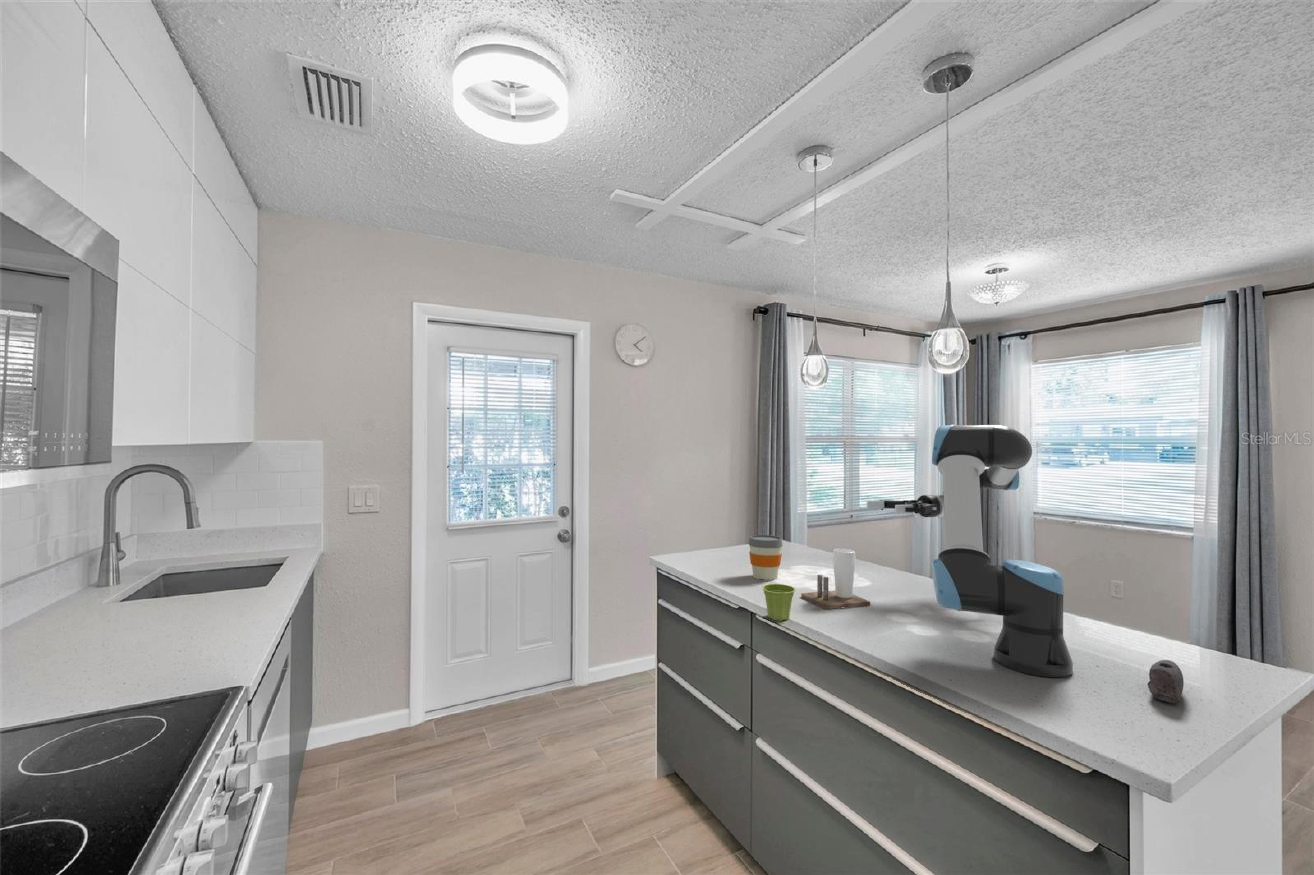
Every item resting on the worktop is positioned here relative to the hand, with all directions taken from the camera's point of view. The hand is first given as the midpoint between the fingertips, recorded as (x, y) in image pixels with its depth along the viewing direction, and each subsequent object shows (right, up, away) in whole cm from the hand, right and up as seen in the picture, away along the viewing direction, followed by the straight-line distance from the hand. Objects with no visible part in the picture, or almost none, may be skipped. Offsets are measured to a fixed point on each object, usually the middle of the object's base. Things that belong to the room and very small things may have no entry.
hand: (881, 507), depth 181 cm
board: (-17, -30, -4) cm, 34 cm away
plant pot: (-38, -30, -21) cm, 53 cm away
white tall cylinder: (-13, -29, -3) cm, 32 cm away
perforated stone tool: (+31, -30, -68) cm, 80 cm away
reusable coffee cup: (-33, -30, +26) cm, 52 cm away
